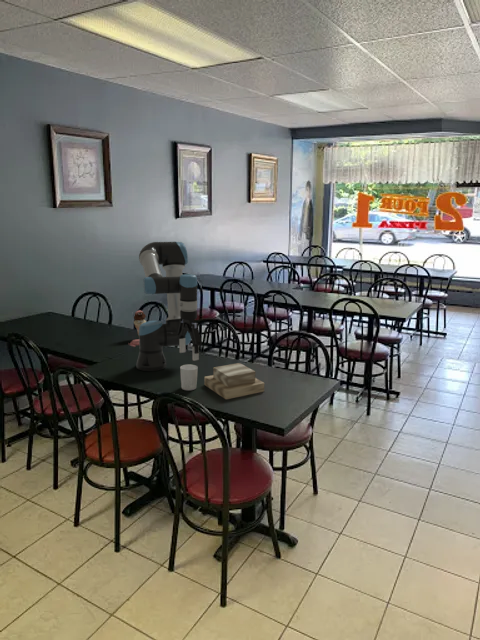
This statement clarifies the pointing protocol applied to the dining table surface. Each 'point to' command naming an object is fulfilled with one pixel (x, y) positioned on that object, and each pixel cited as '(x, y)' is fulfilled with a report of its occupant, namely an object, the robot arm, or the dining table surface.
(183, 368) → the white cup
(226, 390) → the oak riser
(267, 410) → the dining table surface
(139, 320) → the ice cream
